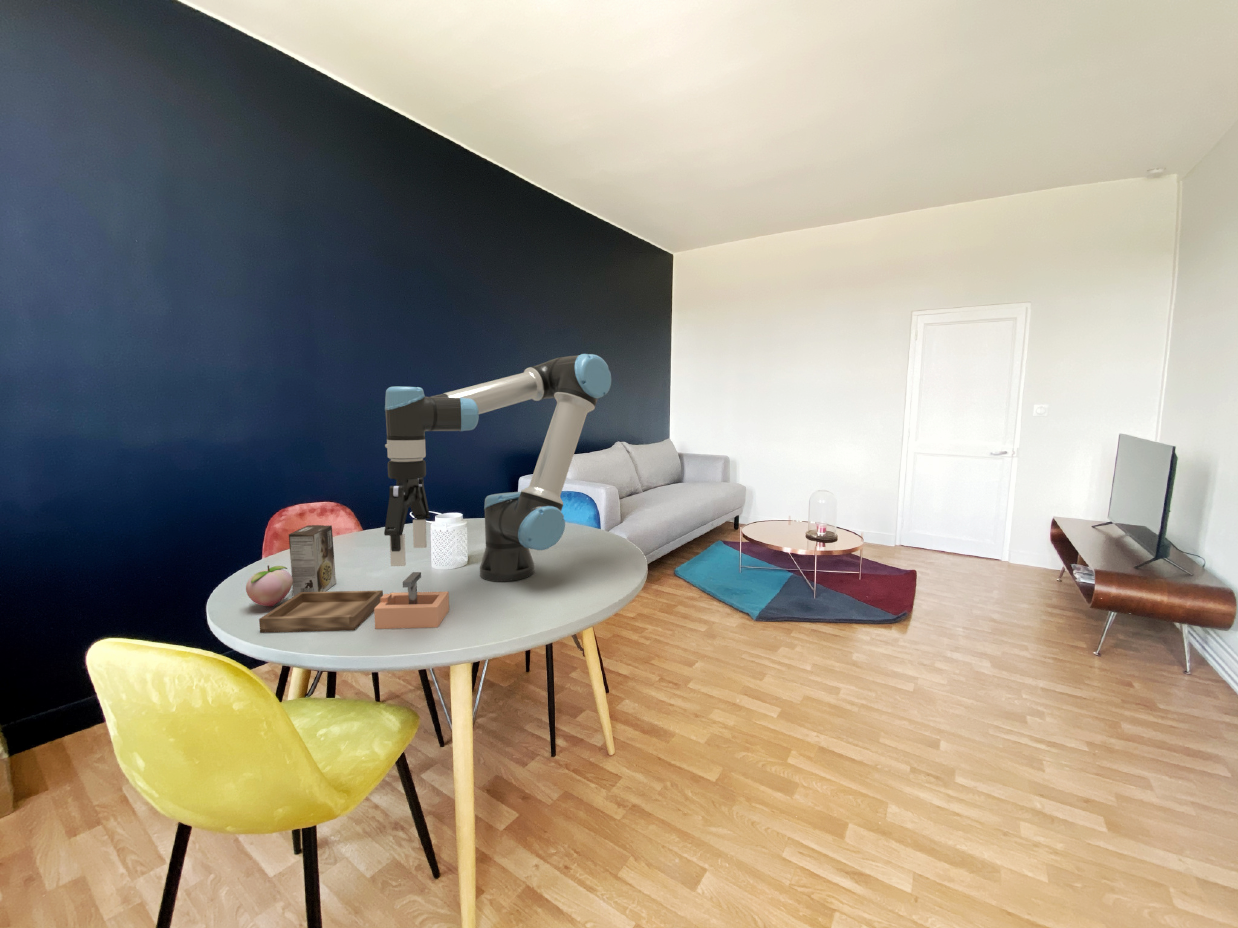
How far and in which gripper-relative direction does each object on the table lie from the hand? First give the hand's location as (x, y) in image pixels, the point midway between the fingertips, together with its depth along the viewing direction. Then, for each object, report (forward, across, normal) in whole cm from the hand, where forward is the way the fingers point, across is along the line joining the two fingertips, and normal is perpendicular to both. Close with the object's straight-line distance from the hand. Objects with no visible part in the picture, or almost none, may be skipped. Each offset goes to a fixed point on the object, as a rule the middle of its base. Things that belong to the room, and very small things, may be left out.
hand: (409, 556), depth 108 cm
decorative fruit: (+15, -9, -36) cm, 40 cm away
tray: (+15, -3, -20) cm, 25 cm away
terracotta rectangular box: (+14, 0, 0) cm, 15 cm away
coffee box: (+15, -19, -31) cm, 39 cm away
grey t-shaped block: (+14, 0, 0) cm, 15 cm away
